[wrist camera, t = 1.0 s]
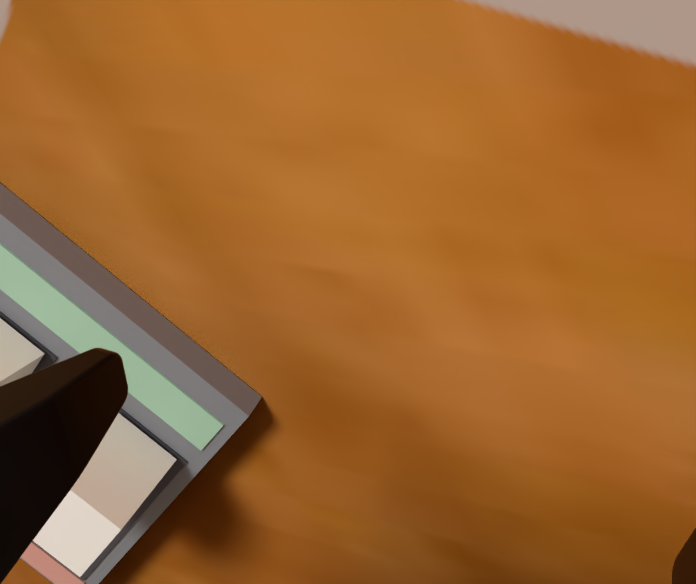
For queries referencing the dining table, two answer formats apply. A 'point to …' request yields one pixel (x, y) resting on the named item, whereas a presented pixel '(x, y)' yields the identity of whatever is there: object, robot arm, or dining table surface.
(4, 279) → the breaker panel
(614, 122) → the dining table surface
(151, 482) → the white block
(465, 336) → the dining table surface
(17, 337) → the handle
